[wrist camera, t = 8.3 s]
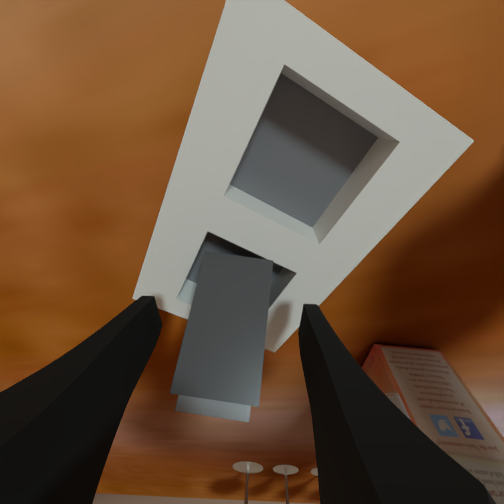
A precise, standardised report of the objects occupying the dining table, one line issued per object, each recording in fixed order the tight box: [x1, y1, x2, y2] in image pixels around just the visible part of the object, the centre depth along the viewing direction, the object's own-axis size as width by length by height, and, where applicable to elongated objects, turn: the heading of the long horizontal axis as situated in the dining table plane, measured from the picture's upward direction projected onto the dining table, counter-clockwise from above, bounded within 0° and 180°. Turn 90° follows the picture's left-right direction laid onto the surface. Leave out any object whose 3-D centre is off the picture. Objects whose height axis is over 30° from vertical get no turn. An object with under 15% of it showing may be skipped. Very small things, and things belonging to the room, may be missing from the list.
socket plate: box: [132, 0, 474, 352], centre depth 12 cm, size 10×15×2 cm, turn 153°
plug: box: [170, 251, 273, 422], centre depth 12 cm, size 4×4×7 cm
